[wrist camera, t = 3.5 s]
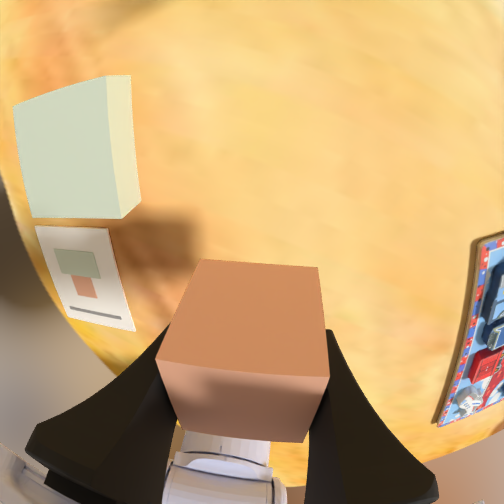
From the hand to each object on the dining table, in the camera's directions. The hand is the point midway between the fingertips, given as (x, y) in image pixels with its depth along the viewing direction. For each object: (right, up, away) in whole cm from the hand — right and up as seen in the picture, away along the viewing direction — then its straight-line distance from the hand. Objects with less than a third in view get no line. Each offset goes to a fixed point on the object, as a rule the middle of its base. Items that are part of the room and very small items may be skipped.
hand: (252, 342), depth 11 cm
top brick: (0, +1, +1) cm, 2 cm away
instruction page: (-14, +1, +11) cm, 18 cm away
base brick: (-11, +10, +5) cm, 16 cm away
